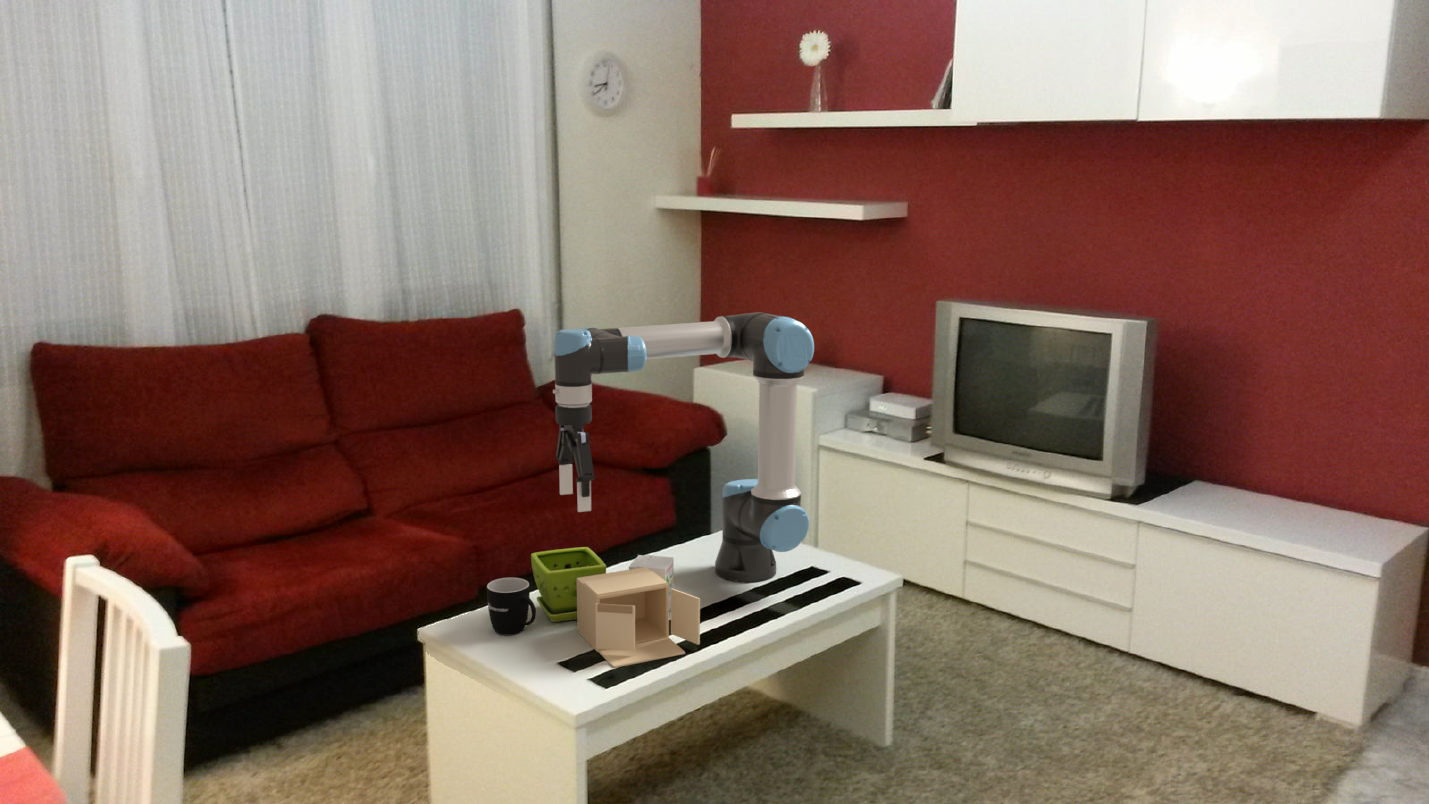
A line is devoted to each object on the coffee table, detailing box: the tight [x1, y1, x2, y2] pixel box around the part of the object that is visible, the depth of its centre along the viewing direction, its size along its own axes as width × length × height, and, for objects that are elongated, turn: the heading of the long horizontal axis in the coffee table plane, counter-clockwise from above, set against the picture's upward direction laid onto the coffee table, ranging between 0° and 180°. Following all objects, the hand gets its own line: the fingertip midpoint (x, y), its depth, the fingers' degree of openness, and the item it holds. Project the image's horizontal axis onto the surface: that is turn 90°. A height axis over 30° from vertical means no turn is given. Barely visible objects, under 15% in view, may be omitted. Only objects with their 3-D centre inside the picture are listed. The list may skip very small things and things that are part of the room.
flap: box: [596, 603, 635, 651], centre depth 228 cm, size 8×1×10 cm, turn 82°
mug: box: [486, 577, 537, 636], centre depth 240 cm, size 12×9×10 cm
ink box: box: [628, 554, 674, 612], centre depth 252 cm, size 8×8×12 cm
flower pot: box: [530, 546, 607, 623], centre depth 251 cm, size 14×14×13 cm
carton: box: [576, 567, 701, 669], centre depth 236 cm, size 19×20×12 cm
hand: (575, 502), depth 239 cm, fingers open, 13 cm apart
